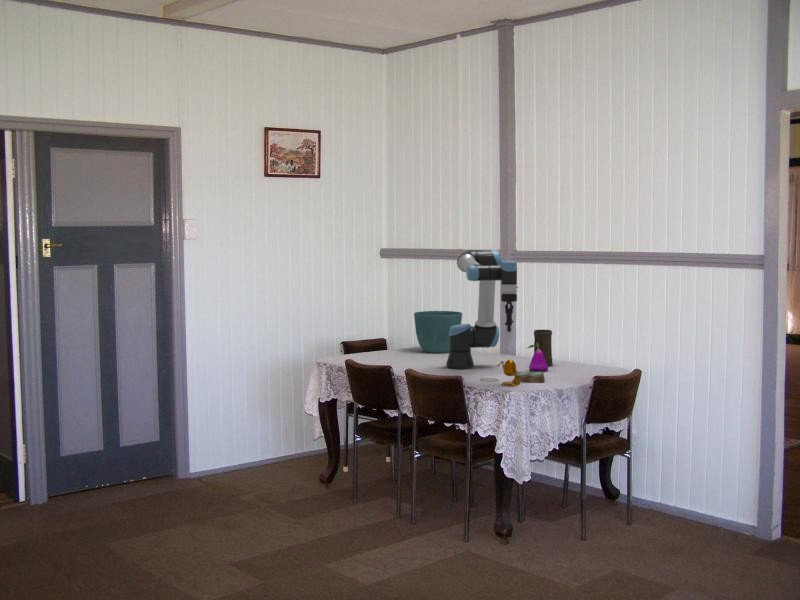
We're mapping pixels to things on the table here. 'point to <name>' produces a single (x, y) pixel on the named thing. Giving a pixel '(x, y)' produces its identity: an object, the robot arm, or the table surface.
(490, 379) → the coaster
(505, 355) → the table surface
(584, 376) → the table surface
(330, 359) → the table surface
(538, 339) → the beer stein
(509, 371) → the figurine
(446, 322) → the flower pot
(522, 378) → the podium
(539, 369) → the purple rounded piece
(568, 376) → the table surface
